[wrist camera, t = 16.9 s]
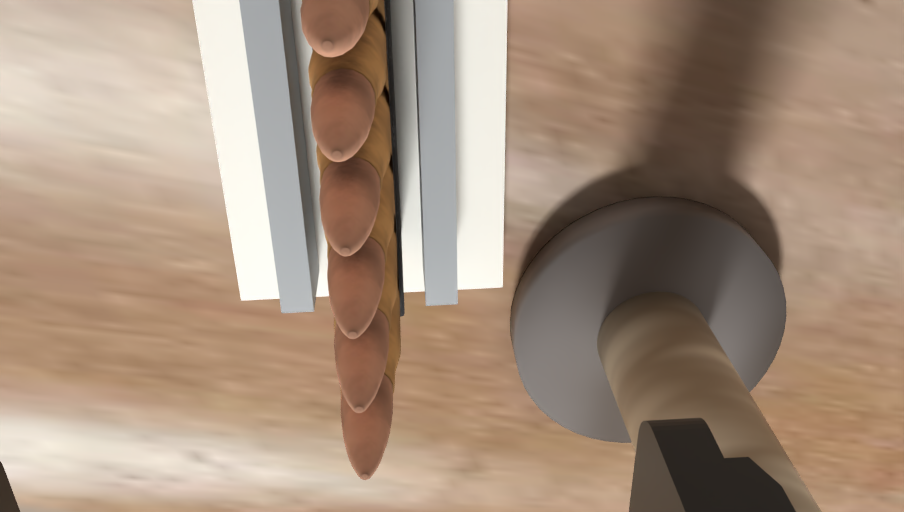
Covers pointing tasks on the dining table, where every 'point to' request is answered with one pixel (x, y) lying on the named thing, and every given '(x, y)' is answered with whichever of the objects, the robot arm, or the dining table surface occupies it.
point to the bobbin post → (655, 328)
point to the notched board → (418, 144)
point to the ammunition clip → (359, 210)
